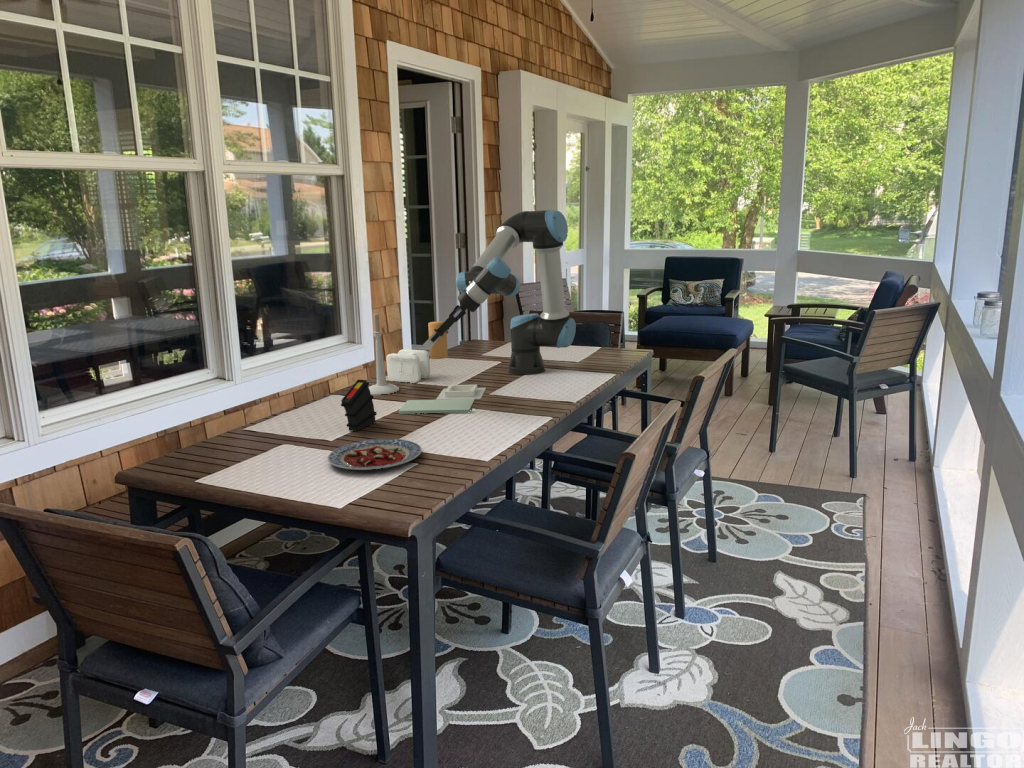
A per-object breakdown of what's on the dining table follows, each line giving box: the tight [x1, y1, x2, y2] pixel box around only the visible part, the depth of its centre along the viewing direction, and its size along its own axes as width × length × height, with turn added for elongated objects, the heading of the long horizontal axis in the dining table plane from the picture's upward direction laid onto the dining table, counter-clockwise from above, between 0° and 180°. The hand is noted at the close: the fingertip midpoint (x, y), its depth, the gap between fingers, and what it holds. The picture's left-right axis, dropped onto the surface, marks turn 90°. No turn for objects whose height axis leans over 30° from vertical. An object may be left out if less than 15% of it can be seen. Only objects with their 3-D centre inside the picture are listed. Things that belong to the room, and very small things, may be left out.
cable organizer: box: [385, 348, 431, 384], centre depth 306 cm, size 15×11×12 cm
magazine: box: [340, 379, 377, 432], centre depth 244 cm, size 4×13×15 cm, turn 155°
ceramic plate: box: [327, 438, 423, 471], centre depth 213 cm, size 26×26×3 cm
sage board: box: [398, 399, 476, 415], centre depth 264 cm, size 24×14×1 cm, turn 85°
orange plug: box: [427, 321, 449, 360], centre depth 262 cm, size 6×6×12 cm
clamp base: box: [435, 384, 487, 400], centre depth 279 cm, size 16×16×3 cm
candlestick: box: [368, 313, 400, 396], centre depth 288 cm, size 13×13×30 cm
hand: (427, 345), depth 263 cm, fingers closed on orange plug, 6 cm apart
